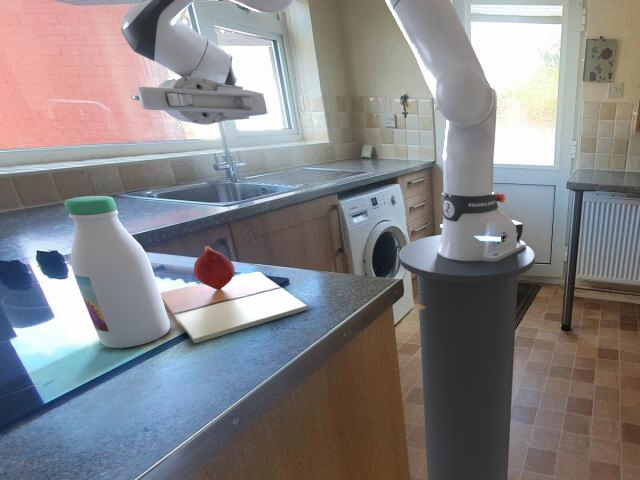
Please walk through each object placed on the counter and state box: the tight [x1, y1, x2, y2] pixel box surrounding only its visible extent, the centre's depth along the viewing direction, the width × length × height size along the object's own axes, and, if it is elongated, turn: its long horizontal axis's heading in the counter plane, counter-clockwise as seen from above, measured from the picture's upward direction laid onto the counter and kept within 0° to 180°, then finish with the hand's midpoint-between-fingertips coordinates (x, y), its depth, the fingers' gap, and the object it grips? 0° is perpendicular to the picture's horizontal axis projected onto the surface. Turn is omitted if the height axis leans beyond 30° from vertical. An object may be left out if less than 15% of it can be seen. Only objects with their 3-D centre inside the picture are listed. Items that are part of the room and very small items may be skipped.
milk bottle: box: [63, 195, 171, 349], centre depth 56 cm, size 8×8×20 cm
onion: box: [193, 246, 236, 290], centre depth 72 cm, size 6×6×8 cm
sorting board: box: [160, 271, 309, 344], centre depth 70 cm, size 16×22×1 cm
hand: (219, 101), depth 74 cm, fingers open, 8 cm apart
